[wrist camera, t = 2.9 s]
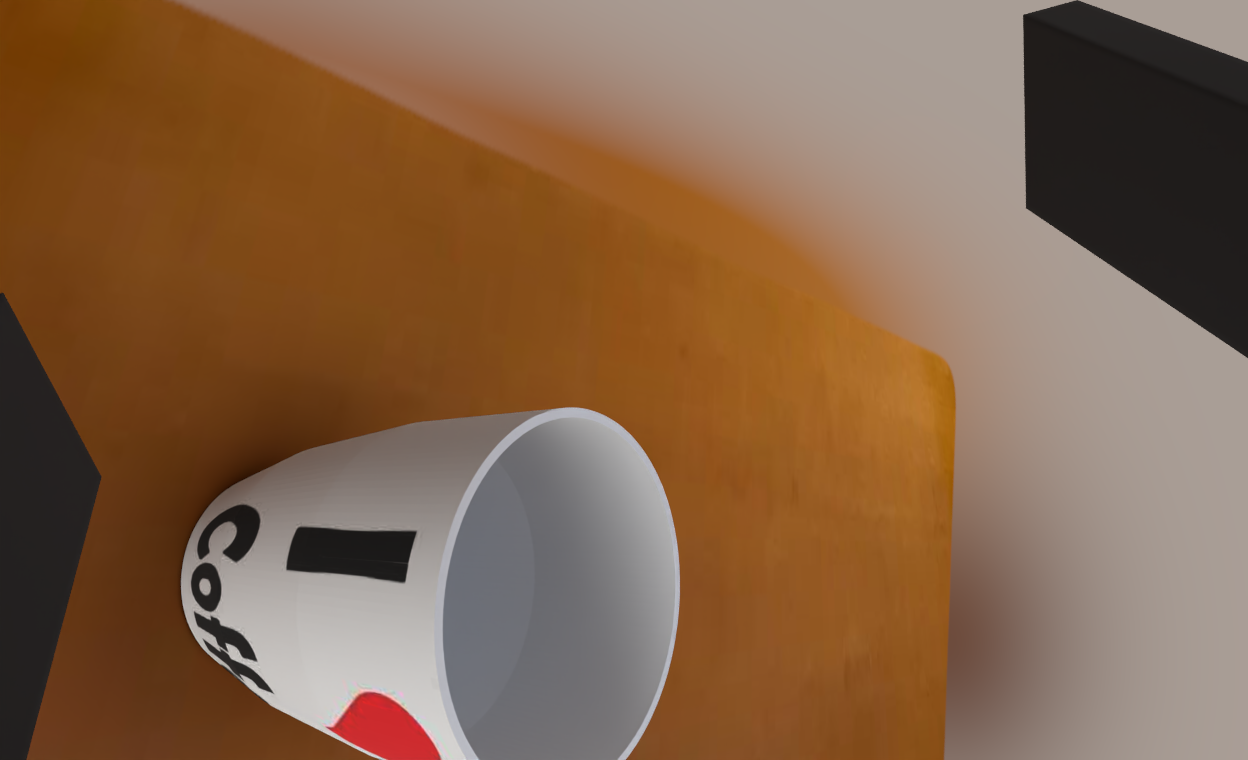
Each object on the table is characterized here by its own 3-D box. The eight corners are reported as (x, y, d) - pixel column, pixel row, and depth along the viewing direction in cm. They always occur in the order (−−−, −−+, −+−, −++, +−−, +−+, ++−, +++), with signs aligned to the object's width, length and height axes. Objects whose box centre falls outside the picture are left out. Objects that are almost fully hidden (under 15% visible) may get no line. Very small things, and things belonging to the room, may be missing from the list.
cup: (87, 463, 26) (398, 469, 21) (357, 382, 33) (652, 370, 27) (165, 795, 28) (478, 890, 22) (409, 655, 34) (702, 699, 28)
